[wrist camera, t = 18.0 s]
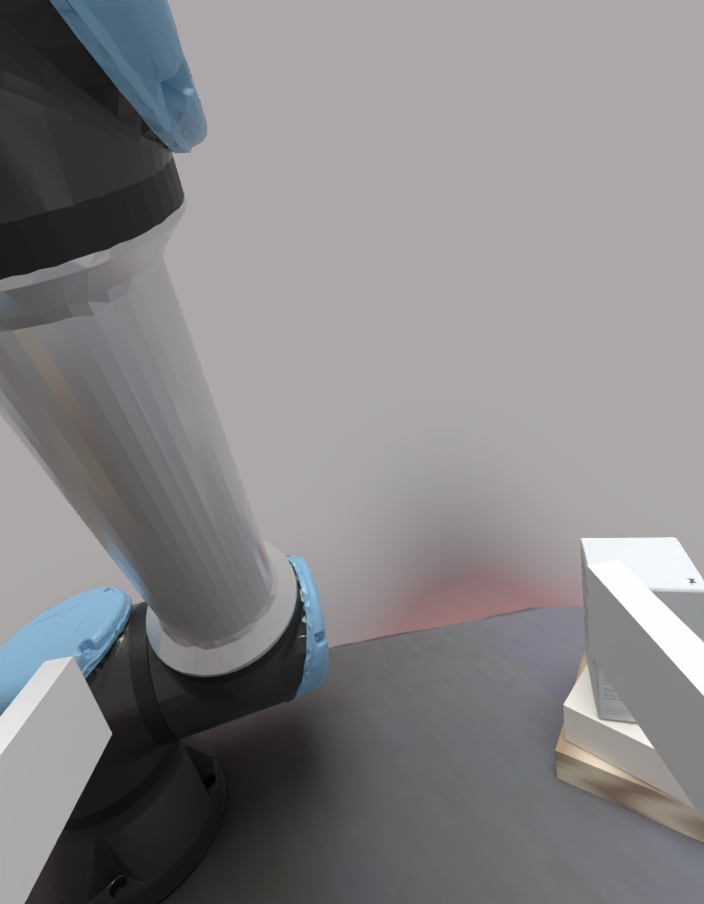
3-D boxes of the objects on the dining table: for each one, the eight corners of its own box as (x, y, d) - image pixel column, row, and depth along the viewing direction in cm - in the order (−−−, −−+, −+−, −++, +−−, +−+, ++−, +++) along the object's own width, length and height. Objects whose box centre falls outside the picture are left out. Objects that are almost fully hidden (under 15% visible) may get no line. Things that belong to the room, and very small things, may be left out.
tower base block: (557, 782, 41) (555, 750, 40) (584, 682, 50) (583, 653, 48) (731, 860, 34) (736, 824, 33) (727, 727, 43) (730, 694, 41)
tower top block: (564, 739, 40) (563, 704, 39) (604, 665, 47) (604, 633, 45) (707, 815, 33) (710, 776, 32) (731, 716, 40) (735, 680, 38)
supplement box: (674, 659, 41) (680, 535, 37) (704, 733, 35) (715, 591, 31) (582, 652, 44) (579, 535, 40) (594, 719, 37) (591, 587, 33)
